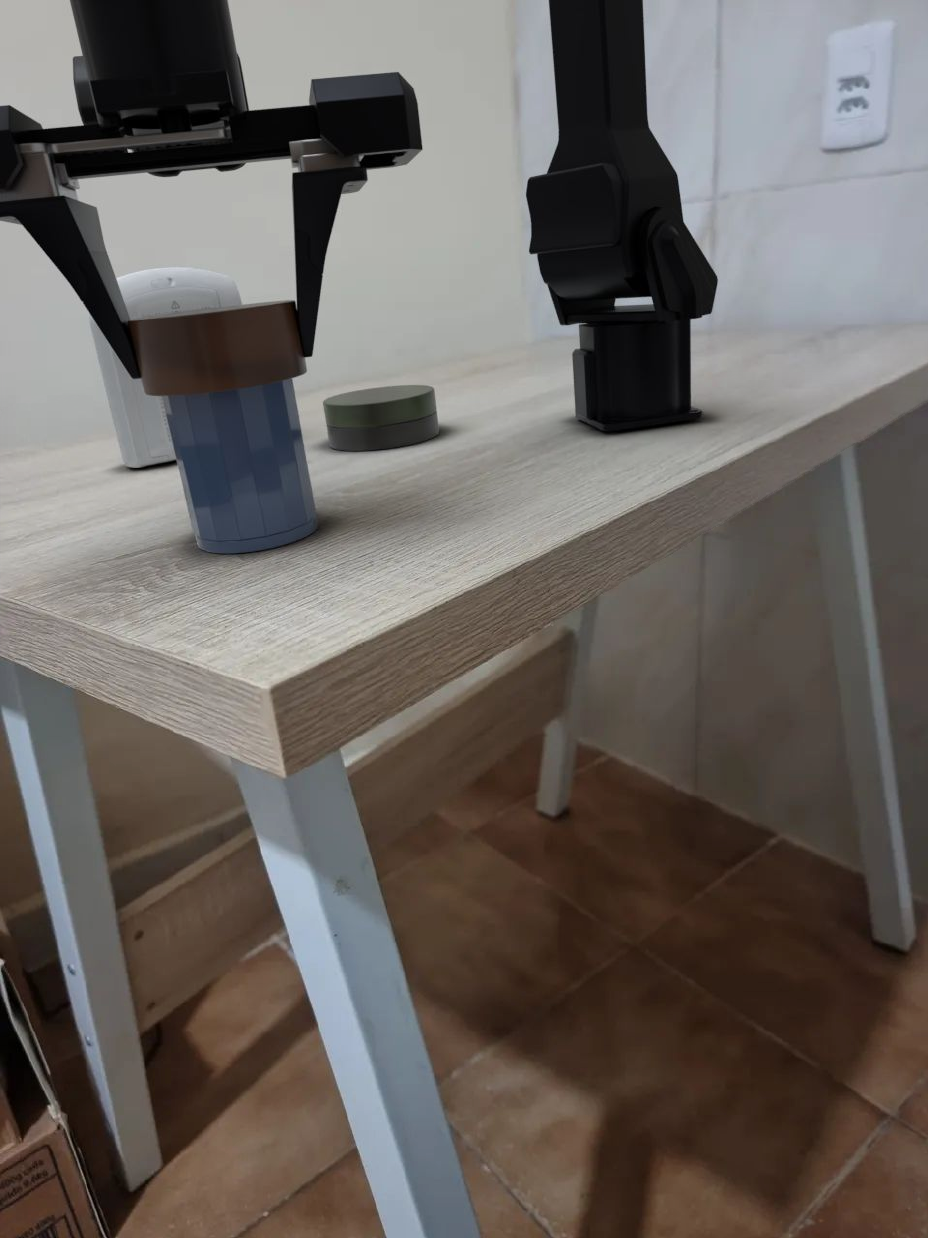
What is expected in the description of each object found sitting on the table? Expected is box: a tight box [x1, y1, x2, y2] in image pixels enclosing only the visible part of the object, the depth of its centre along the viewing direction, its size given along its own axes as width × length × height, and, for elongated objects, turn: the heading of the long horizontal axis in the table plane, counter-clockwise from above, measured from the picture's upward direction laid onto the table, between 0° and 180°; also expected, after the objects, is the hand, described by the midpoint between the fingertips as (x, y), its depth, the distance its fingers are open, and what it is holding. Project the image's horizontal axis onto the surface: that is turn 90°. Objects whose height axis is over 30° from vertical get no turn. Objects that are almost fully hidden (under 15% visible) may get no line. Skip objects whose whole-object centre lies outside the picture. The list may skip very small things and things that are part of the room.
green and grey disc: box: [322, 384, 440, 452], centre depth 60 cm, size 8×8×3 cm
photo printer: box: [88, 266, 243, 469], centre depth 60 cm, size 10×4×12 cm, turn 123°
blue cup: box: [162, 378, 319, 554], centre depth 40 cm, size 6×6×7 cm
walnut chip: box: [128, 299, 308, 396], centre depth 38 cm, size 7×7×3 cm
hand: (225, 366), depth 38 cm, fingers closed on walnut chip, 7 cm apart
